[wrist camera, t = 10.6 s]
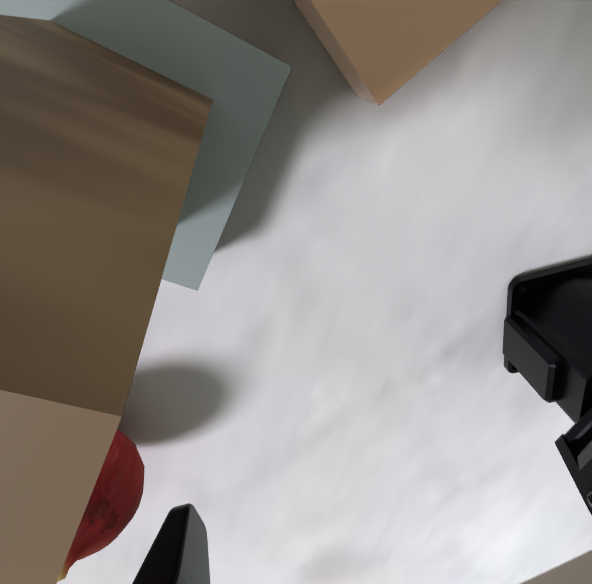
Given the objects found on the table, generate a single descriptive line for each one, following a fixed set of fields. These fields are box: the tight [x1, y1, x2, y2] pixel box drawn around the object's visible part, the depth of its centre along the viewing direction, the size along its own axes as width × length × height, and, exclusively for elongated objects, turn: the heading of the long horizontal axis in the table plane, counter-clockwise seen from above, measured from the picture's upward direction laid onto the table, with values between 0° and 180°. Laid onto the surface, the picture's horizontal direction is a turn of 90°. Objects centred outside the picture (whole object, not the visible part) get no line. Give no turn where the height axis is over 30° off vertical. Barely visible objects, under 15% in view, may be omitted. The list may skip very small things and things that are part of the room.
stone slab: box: [0, 0, 292, 291], centre depth 16 cm, size 9×9×3 cm
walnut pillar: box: [0, 15, 213, 584], centre depth 8 cm, size 5×5×14 cm
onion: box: [57, 429, 144, 582], centre depth 21 cm, size 6×6×8 cm
